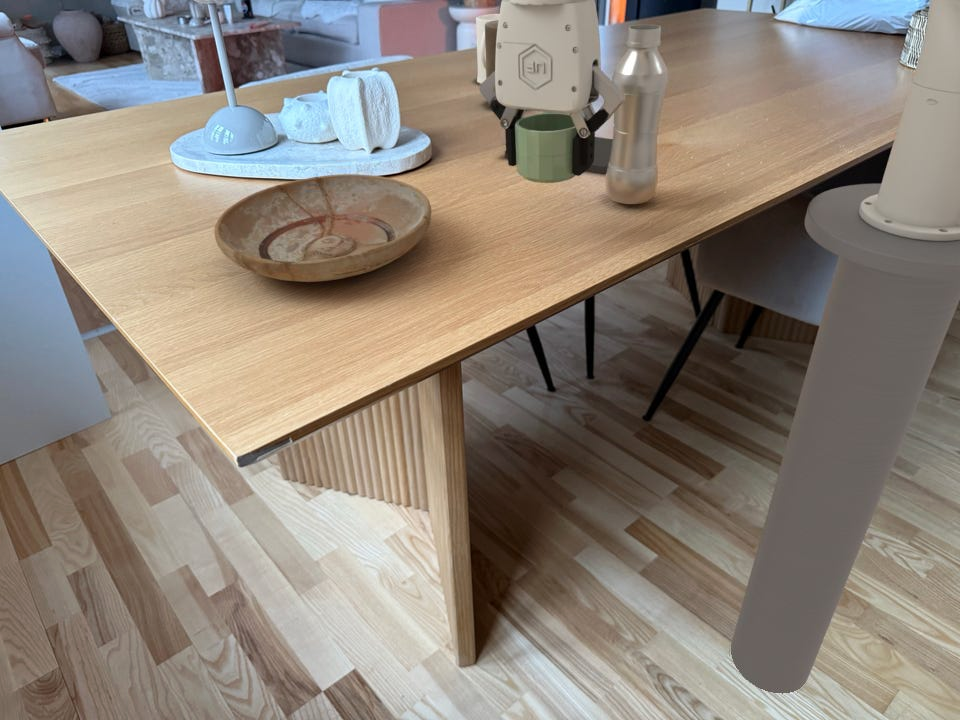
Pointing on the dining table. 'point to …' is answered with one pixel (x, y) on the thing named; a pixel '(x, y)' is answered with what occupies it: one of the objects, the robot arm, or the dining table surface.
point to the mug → (482, 44)
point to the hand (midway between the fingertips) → (549, 165)
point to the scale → (599, 155)
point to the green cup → (545, 147)
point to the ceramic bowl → (324, 227)
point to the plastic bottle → (637, 117)
